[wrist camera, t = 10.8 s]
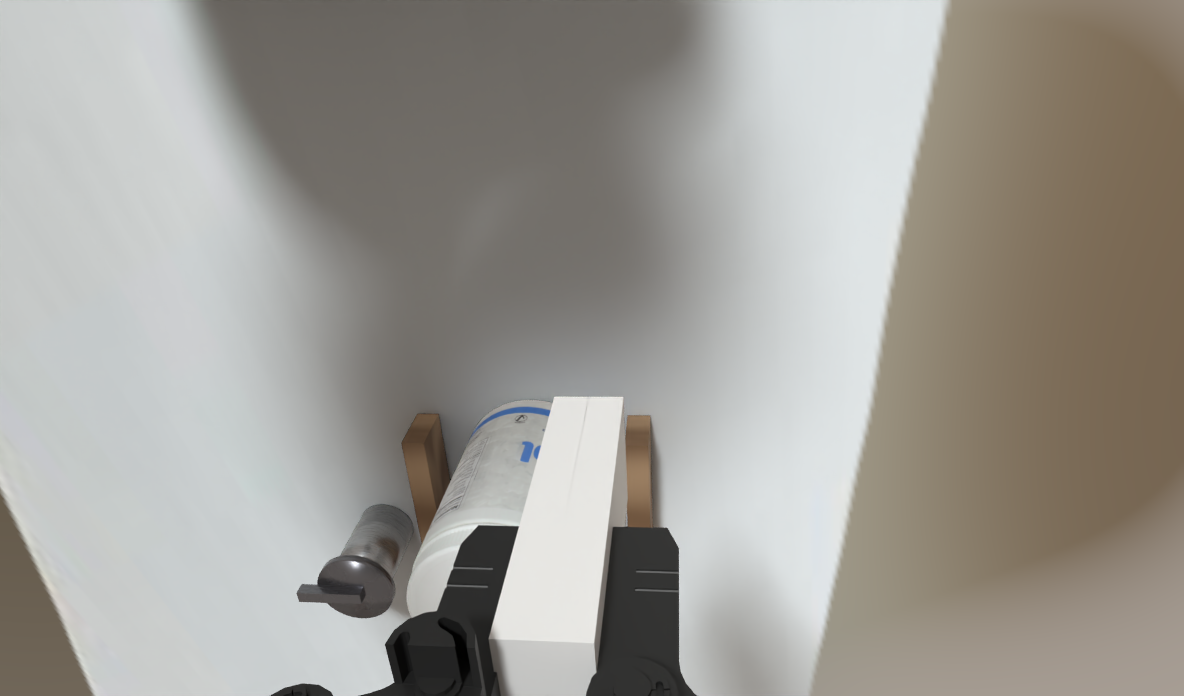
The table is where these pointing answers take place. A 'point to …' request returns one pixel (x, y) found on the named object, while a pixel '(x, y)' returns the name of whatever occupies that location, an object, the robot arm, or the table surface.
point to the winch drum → (364, 565)
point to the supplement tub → (480, 493)
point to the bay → (433, 477)
